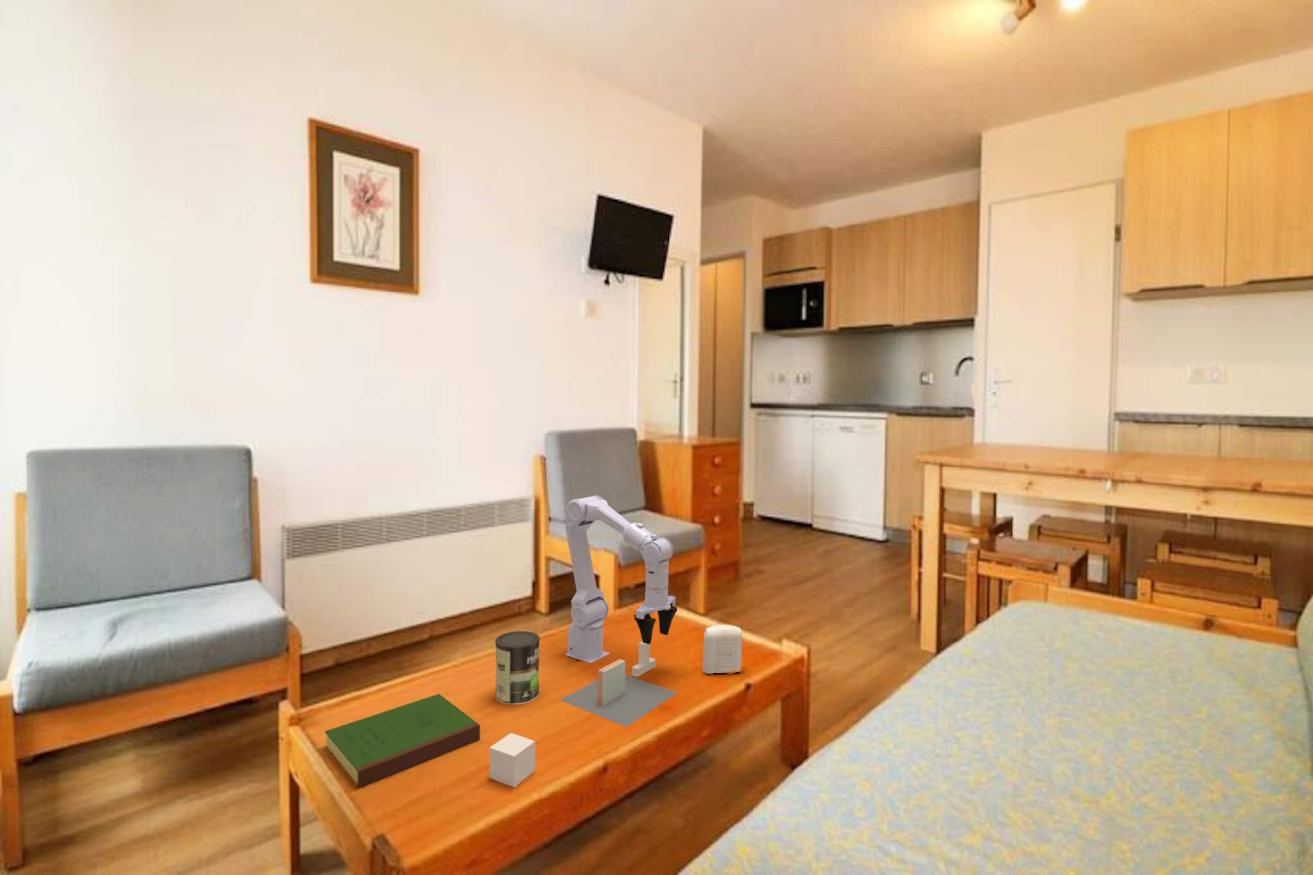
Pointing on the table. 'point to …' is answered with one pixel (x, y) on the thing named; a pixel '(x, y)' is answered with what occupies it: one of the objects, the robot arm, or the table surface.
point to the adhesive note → (512, 759)
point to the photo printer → (722, 649)
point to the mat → (621, 700)
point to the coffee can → (517, 667)
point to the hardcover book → (400, 738)
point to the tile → (611, 682)
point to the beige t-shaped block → (644, 660)
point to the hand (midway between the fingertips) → (655, 638)
